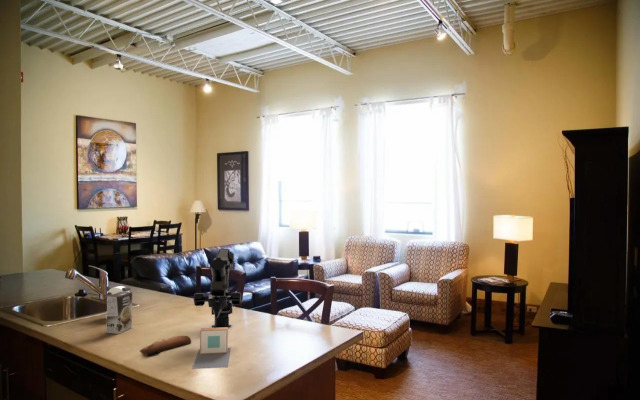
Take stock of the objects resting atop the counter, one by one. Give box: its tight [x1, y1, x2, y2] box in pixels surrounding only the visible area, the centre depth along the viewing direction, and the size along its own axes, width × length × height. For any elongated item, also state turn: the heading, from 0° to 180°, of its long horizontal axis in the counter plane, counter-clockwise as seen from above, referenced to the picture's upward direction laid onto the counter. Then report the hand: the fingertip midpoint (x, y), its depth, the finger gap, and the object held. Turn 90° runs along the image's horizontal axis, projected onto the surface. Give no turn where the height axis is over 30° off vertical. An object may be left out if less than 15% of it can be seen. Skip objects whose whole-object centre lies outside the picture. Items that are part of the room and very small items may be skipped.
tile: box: [199, 327, 229, 354], centre depth 160 cm, size 3×10×9 cm, turn 99°
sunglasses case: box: [139, 335, 192, 357], centre depth 165 cm, size 18×7×7 cm
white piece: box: [105, 284, 131, 320], centre depth 207 cm, size 12×11×15 cm
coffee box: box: [106, 291, 133, 335], centre depth 186 cm, size 9×6×16 cm
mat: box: [191, 347, 232, 370], centre depth 155 cm, size 19×12×1 cm, turn 9°
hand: (216, 317), depth 168 cm, fingers closed
